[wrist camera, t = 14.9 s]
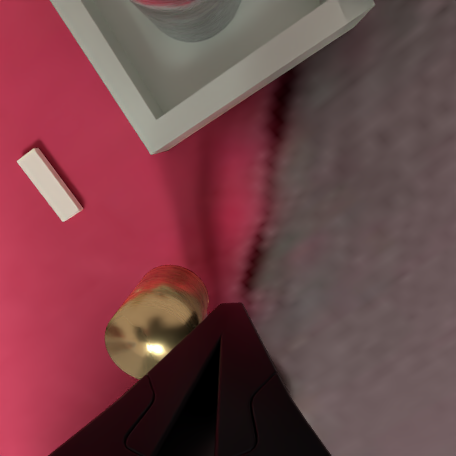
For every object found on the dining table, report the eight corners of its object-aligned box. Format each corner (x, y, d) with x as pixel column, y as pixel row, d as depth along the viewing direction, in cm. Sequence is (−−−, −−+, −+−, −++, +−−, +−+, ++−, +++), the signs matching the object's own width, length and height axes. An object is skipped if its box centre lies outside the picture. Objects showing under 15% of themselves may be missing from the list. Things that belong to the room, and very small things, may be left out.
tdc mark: (83, 209, 13) (80, 210, 13) (66, 220, 14) (62, 221, 13) (38, 148, 13) (33, 148, 12) (21, 160, 13) (16, 161, 13)
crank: (253, 444, 16) (250, 582, 11) (191, 444, 16) (163, 577, 11) (223, 234, 12) (201, 301, 8) (147, 241, 13) (80, 309, 8)
